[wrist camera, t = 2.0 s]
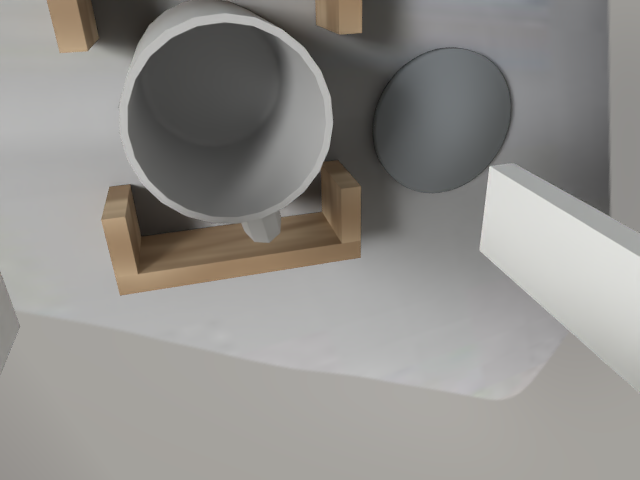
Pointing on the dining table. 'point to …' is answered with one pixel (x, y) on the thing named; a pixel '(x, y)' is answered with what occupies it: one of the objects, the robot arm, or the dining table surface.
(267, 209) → the cup
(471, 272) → the dining table surface
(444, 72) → the coaster
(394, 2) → the dining table surface
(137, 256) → the wooden brackets
